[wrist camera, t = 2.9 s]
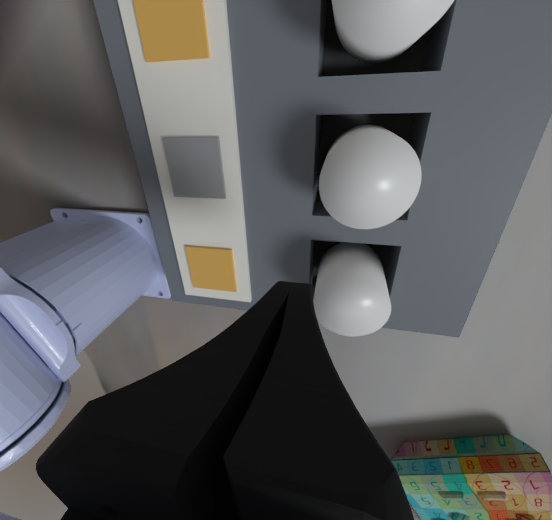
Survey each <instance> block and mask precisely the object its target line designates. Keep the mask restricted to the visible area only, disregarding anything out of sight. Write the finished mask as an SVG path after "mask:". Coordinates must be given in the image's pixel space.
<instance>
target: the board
mask: <svg viewBox="0 0 552 520" xmlns="http://www.w3.org/2000/svg"><path fill="white" fill-rule="evenodd" d="M93 2H94V5H95V9H96V13H97V17H98V21H99V24H100V28H101V32H102V36H103V40H104V43H105V47H106V51H107V55H108V59H109V62H110V66H111V70H112V74H113V78H114V81H115V85H116V89H117V93H118V96H119V100H120V104H121V108H122V112H123V115H124V119H125V123H126V127H127V131H128V134H129V138H130V142H131V146H132V150H133V153H134V157H135V161H136V165H137V169H138V172H139V176H140V180H141V184H142V188H143V191H144V195H145V199H146V203H147V207H148V210H149V214H150V218H151V222H152V226H153V229H154V233H155V237H156V241H157V244H158V248H159V252H160V256H161V260H162V263H163V267H164V271H165V275H166V279H167V282H168V286H169V290H170V294H171V298H172V301H180V302H188V303H195V304H203V305H211V306H219V307H227V308H234V309H242V310H249V309H250V308H251V307H252V306H253V305H254V304H255V303H256V302H258V301H259V300H260V299H261V298H262V297H263V296H264V295H265V294H266V293H267V292H268V291H269V289H270V288H271V287H272V286H273V285H274V284H275V283H276V282H278V281H287V282H297V283H308V284H311V285H312V286H313V287H314V288H313V298H314V293H315V287H316V283H315V282H313V266H314V246H315V240H322V241H336V242H350V243H364V244H379V245H390V246H389V251H388V256H387V261H386V266H385V271H384V275H385V279H386V284H387V288H388V293H389V297H390V302H391V314H390V317H389V319H388V321H387V322H386V323H385V324H384V325H383V326H382V328H390V329H398V330H406V331H413V332H421V333H429V334H437V335H445V336H452V337H459V336H460V334H461V332H462V329H463V327H464V324H465V322H466V319H467V317H468V315H469V312H470V310H471V307H472V305H473V302H474V300H475V298H476V295H477V293H478V290H479V288H480V286H481V283H482V281H483V278H484V276H485V273H486V271H487V269H488V266H489V264H490V261H491V259H492V256H493V254H494V252H495V249H496V247H497V244H498V242H499V240H500V237H501V235H502V232H503V230H504V227H505V225H506V223H507V220H508V218H509V215H510V213H511V211H512V208H513V206H514V203H515V201H516V198H517V196H518V194H519V191H520V189H521V186H522V184H523V181H524V179H525V177H526V174H527V172H528V169H529V167H530V165H531V162H532V160H533V157H534V155H535V152H536V150H537V148H538V145H539V143H540V140H541V138H542V136H543V133H544V131H545V128H546V126H547V123H548V121H549V119H550V116H551V114H552V0H454V2H453V3H452V5H451V6H450V7H449V9H448V10H447V11H446V13H445V14H444V15H443V16H442V17H441V18H440V19H439V20H438V21H437V22H436V23H435V24H434V25H433V30H432V35H431V40H430V45H429V50H428V55H427V60H426V65H425V70H424V72H407V73H387V74H367V75H346V76H326V77H323V63H324V42H325V22H326V2H327V0H93ZM384 113H416V115H415V120H414V125H413V130H412V135H411V140H410V146H411V147H412V148H413V149H414V151H415V152H416V154H417V156H418V159H419V162H420V165H421V172H422V174H421V185H420V189H419V192H418V194H417V196H416V199H415V200H414V202H413V204H412V205H411V206H410V208H409V209H408V210H407V211H406V212H405V213H404V214H403V215H402V216H400V217H399V218H398V219H396V220H395V221H393V222H392V223H389V224H387V225H385V226H382V227H379V228H374V229H355V228H351V227H348V226H345V225H343V224H341V223H339V222H338V221H337V220H335V219H334V218H333V217H332V216H331V215H330V214H329V213H328V212H327V210H326V209H325V207H324V205H323V203H322V200H317V185H318V164H319V144H320V124H321V115H338V114H384Z"/></svg>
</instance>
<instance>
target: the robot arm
mask: <svg viewBox="0 0 552 520" xmlns="http://www.w3.org/2000/svg"><path fill="white" fill-rule="evenodd" d="M50 214H51V216H52V218H53V222H50V223H48V224H45V225H43V226H40V227H38V228H35V229H33V230H30V231H28V232H25V233H23V234H20V235H18V236H15V237H13V238H10V239H8V240H5V241H3V242H0V471H2V470H3V469H5V468H6V467H8V466H9V465H11V464H12V463H14V462H15V461H16V460H18V459H19V458H20V457H21V456H23V455H24V454H25V453H26V452H27V451H29V450H30V449H31V448H32V447H33V446H34V445H35V444H36V443H37V442H38V441H39V440H40V439H41V438H42V437H43V436H44V435H45V434H46V433H47V432H48V431H49V430H50V428H51V427H52V426H53V424H54V423H55V422H56V420H57V419H58V417H59V416H60V414H61V412H62V410H63V408H64V407H65V405H66V403H67V401H68V398H69V396H70V392H71V385H70V383H69V381H68V380H67V379H68V378H69V377H70V376H71V375H72V374H73V373H74V372H75V371H76V370H77V369H78V368H79V367H80V363H79V362H78V361H77V359H76V356H77V355H78V354H79V353H80V352H81V351H82V350H83V349H84V348H85V347H86V346H87V345H88V344H90V343H91V342H92V341H93V340H94V339H95V338H96V337H97V336H98V335H99V334H100V333H101V332H102V331H104V330H105V329H106V328H107V327H108V326H109V325H110V324H111V323H112V322H113V321H114V320H115V319H116V318H118V317H119V316H120V315H121V314H122V313H123V312H124V311H125V310H126V309H127V308H128V307H129V306H130V305H132V304H133V303H134V302H135V301H136V300H137V299H138V298H139V297H140V296H141V295H143V296H151V297H159V298H166V299H167V298H170V297H171V294H170V290H169V286H168V282H167V279H166V275H165V271H164V267H163V263H162V260H161V256H160V252H159V248H158V244H157V241H156V237H155V233H154V229H153V226H152V222H151V218H150V214H148V213H139V212H121V211H104V210H87V209H69V208H54V209H51V210H50ZM139 217H140V218H141V219H142V221H141V220H140V218H139ZM313 288H314V287H313V286H312V285H311V284H308V283H297V282H287V281H278V282H276V283H275V284H274V285H273V286H272V287H271V288H270V289H269V291H268V292H267V293H266V294H265V295H264V296H263V297H262V298H261V299H260V300H259V301H258V302H256V303H255V304H254V305H253V306H252V307H251V308H250V309H249V310H248V311H247V312H246V313H245V314H244V315H242V316H241V317H240V318H239V319H238V320H236V321H235V322H234V323H233V324H232V325H230V326H229V327H228V328H227V329H225V330H224V331H223V332H221V333H220V334H219V335H217V336H216V337H215V338H213V339H212V340H210V341H209V342H208V343H206V344H204V345H203V346H201V347H200V348H198V349H196V350H195V351H193V352H191V353H190V354H188V355H186V356H185V357H183V358H181V359H180V360H178V361H176V362H174V363H173V364H171V365H169V366H167V367H165V368H163V369H161V370H159V371H157V372H155V373H153V374H151V375H149V376H147V377H145V378H143V379H141V380H139V381H136V382H134V383H132V384H130V385H127V386H125V387H123V388H120V389H118V390H116V391H113V392H111V393H108V394H106V395H104V396H102V397H99V398H96V399H94V400H91V401H89V402H88V403H87V404H86V405H85V406H84V407H83V408H82V409H81V411H80V412H79V413H78V414H77V415H76V416H75V417H74V419H73V420H72V421H71V422H70V423H69V424H68V426H67V427H66V428H65V429H64V430H63V431H62V432H61V433H60V435H59V436H58V437H57V438H56V439H55V440H54V441H53V443H52V444H51V445H50V446H49V447H48V448H47V449H46V451H45V452H44V453H43V454H42V455H41V456H40V457H39V459H38V461H37V463H36V470H37V473H38V476H39V477H40V478H41V480H42V481H43V482H44V483H45V484H46V486H47V487H48V488H49V489H50V490H51V491H52V492H53V493H54V494H55V495H56V496H57V497H58V498H59V499H60V500H61V501H62V502H63V503H64V504H65V505H66V506H67V508H68V510H67V511H66V512H65V514H64V515H63V517H62V518H61V520H414V518H413V514H412V511H411V508H410V505H409V502H408V499H407V496H406V493H405V491H404V488H403V485H402V483H401V480H400V477H399V475H398V472H397V470H396V468H395V466H394V465H393V463H392V462H391V461H390V459H389V458H388V456H387V455H386V453H385V452H384V451H383V449H382V448H381V446H380V445H379V443H378V442H377V440H376V439H375V437H374V436H373V434H372V433H371V431H370V430H369V428H368V426H367V425H366V423H365V422H364V420H363V418H362V417H361V415H360V413H359V412H358V410H357V409H356V407H355V405H354V403H353V401H352V400H351V398H350V396H349V394H348V392H347V391H346V389H345V387H344V385H343V383H342V381H341V380H340V377H339V375H338V373H337V371H336V369H335V367H334V365H333V363H332V360H331V358H330V356H329V353H328V351H327V349H326V346H325V343H324V340H323V338H322V335H321V332H320V329H319V325H318V321H317V318H316V314H315V309H314V303H313ZM161 292H162V293H161ZM0 520H20V519H17V518H15V517H12V516H9V515H6V514H4V513H1V512H0Z"/></svg>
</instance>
